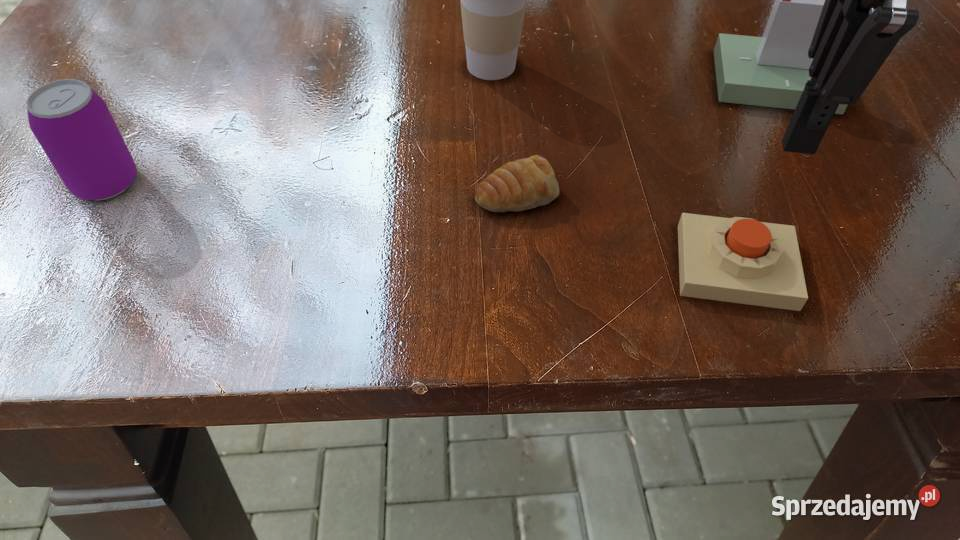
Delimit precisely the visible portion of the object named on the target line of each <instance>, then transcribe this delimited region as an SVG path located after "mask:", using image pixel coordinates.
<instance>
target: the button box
mask: <svg viewBox="0 0 960 540" xmlns="http://www.w3.org/2000/svg"><path fill="white" fill-rule="evenodd" d="M740 219H753V220H756V219H755V218H752V217H744V216H743V217H742V216H734V217H723V216H715V215H705V214H698V213H689V212H682V213H681V215H680V218H679V221H678V224H677V244H678V246H677V247H678V271H679V272H678V277H679V296H680V297H687V298H693V299H702V300H708V301H709V300H711V301H719V302H725V303H732V304H742V305H749V306H756V307H765V308H772V309H778V310H779V309H780V310H788V311H796V312H801V311H802V309H803V308H804V306H805V304H806V303H807V301H808V299H809V295H808V290H807V284H806V279H805V273H804V268H803V263H802V257H801V252H800V247H799V240H798V235H797V230H796V226H795V225H790V224H783V223H774V222H767V221H766V222H765V221H760V222H761V223H763V224H764V225H765V226H767V227H768V229H769V230H770V232H771V235H772V240H771V242H770V244H769V246H768V248H767V250H766V252H765V253H764V255H762V256H761V257H758V258H754V259H752V258H744V257H741V256H739V255H738V254H736V253H734V252H732V251H731V250H730V248H729V247H728V245H727V236H728V234H729V231H730V229H731V227H732V225H733V223H735V222H736V221H738V220H740Z"/></svg>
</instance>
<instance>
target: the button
mask: <svg viewBox="0 0 960 540" xmlns="http://www.w3.org/2000/svg"><path fill="white" fill-rule="evenodd" d="M753 219H754V218H752V219H740V220H738V221H736V222H735V223H733V225H732V227H731V229H730V231H729V234H728V236H727V245H728V247H729V248H730V250H731V251H732V252H734V253H736V254H738V255H739V256H741V257H744V258H752V259H754V258H758V257H761V256H762V255H764V253H765V252H766V250H767V248H768V246H769V244H770V242H771V240H772V235H771V232H770V230H769V229H768V227H767V226H765V225H764V224H763V223H761V222H762V221H759V220H757V219H755V220H753Z"/></svg>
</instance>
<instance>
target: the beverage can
mask: <svg viewBox="0 0 960 540" xmlns="http://www.w3.org/2000/svg"><path fill="white" fill-rule="evenodd" d="M25 103H26V109H27V110H26V111H27V119H28V125H29V127H30V130H31V132H32V134H33V135H34V137H35V139H36V140H37V142H38V144H39V145H40V147H41V148H42V150H43V152H44V153H45V155H46V157H47V158H48V160H49V162H50V163H51V165H52V166H53V168H54V170H55V171H56V173H57V174H58V176H59V178H60V179H61V181H62V183H63V184H64V186H65V188H66V189H67V190H68V191H69V192H70V194H72V195H73V196H74V197H76V198H78V199H80V200H84V201H85V200H86V201H95V202H97V201H104V200H105V201H106V200H109V199H112V198H115V197H117V196H119V195H121V194H122V193H124V192H125V191H126V190H128V188H130V186H131V185H132V183H133V182H134V180H135V179H136V177H137V172H138V168H137V166H136V163H135V161H134V158H133V156H132V154H131V152H130V150H129V148H128V145H127V144H126V142H125V140H124V138H123V135H122V134H121V131H120V129H119V128H118V126H117V123H116V122H115V120H114V117H113V115H112V113H111V111H110V109H109V107H108V105H107V103H106V101H105V99H104V98H102V96H100V94H98V93H97V92H96V91H95V90H93V89H92V87H90V86H89V84H88V83H86V82H85V81H82V80H79V79H73V78H63V79H57V80H54V81H50V82H47V83H44V84H42V85H40V86H38V87H37V88H36V89H34V90H33V91H31V93H30V94H29V95H28V96H27V99H26V102H25Z"/></svg>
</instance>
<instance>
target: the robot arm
mask: <svg viewBox="0 0 960 540" xmlns="http://www.w3.org/2000/svg"><path fill="white" fill-rule="evenodd" d="M907 4H908V0H825V2H824V6H823V9H822V12H821V15H820V18H819V21H818V24H817V27H816V30H815V33H814V36H813V39H812V42H811V45H810V48H809V50H808V57H809V58H814V59H813V61H812V63H811V65H810V67H809V77H811V80H808V81H807V83H806V84H805V88H804V90H803V93H802V95H801V97H800V99H799V102H798V104H797V106H796V109H795V110H793V112H792V113H793V114H792V115H791V117H790V120H789V123H788V125H787V128H786V130H785V131H784V135H783V137H782V138H781V145H782V150H783V152H787V153H797V154H805V155H815V154H816V152H817V151H818V149H819V147H820V145H821V142H822V140H823V139H824V136H825V134H826V132H827V130H828V128H829V126H830V124H831V123H832V121H833V118H834V116H835V115H836V114H835V112H836V110H837V108H838V106H839V104H845V105H848V106H855V105H856V104H857V102H858V101H859V100H860V98H861V97H862V95H863V94H864V92H865V91H866V89H867V88H868V86H869V85H870V83H871V82H872V80H873V79H874V78H875V77H876V75H877V73H878V72H879V70H880V69H881V67H882V66H883V65H884V63H885V62H886V60H887V59H888V58H889V56H890V55H891V53H892V52H893V50H894V49H895V47H896V46H897V44H898V43H899V42H900V40H901V39H902V38H903V37H905V35H907V34H908V33H909V32H911V30H912V29H914V28H915V27H916V25H917V23H918V21H919V17H920V11H919V10H918V9H914V8H907Z"/></svg>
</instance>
